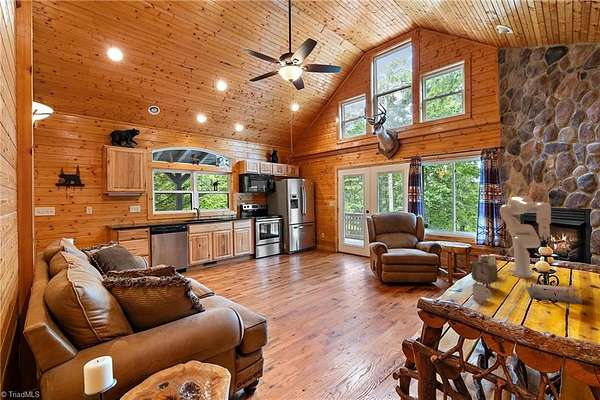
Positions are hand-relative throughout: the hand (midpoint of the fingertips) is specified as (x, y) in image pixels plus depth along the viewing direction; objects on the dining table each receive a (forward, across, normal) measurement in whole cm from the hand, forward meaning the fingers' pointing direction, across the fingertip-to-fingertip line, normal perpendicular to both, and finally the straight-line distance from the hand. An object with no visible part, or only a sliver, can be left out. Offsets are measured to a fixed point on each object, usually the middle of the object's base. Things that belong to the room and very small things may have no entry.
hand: (543, 246), depth 199 cm
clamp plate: (+28, -21, -1) cm, 35 cm away
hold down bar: (+23, -21, -2) cm, 31 cm away
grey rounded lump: (+28, -45, +37) cm, 64 cm away
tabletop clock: (+28, -16, +35) cm, 48 cm away
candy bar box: (+29, +15, +33) cm, 46 cm away
